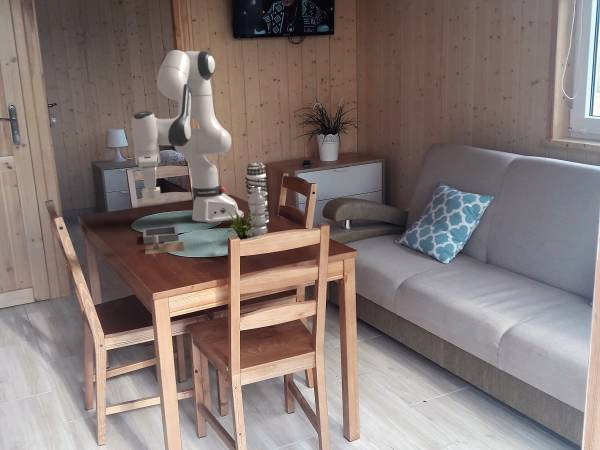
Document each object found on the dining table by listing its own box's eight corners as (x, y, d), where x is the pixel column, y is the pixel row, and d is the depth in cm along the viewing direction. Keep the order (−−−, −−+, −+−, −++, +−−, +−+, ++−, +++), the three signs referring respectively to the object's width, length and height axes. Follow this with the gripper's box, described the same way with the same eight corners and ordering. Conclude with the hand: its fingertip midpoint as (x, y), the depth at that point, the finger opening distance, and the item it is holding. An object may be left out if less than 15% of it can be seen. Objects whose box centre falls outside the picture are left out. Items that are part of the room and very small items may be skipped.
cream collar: (160, 197, 247) (159, 186, 246) (161, 201, 241) (160, 190, 240) (143, 199, 245) (141, 188, 244) (143, 202, 239) (141, 191, 238)
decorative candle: (267, 224, 278) (263, 164, 271) (245, 224, 279) (241, 165, 273) (272, 219, 286) (268, 161, 280) (251, 218, 288) (247, 161, 282)
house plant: (211, 256, 237) (208, 212, 233) (235, 246, 249) (232, 203, 245) (244, 261, 230) (241, 215, 226) (267, 250, 241) (264, 206, 237)
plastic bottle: (261, 241, 254) (258, 189, 249) (247, 239, 258) (243, 188, 253) (271, 236, 259) (268, 186, 254) (256, 234, 263) (253, 184, 258)
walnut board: (183, 244, 255) (181, 229, 253) (184, 253, 243) (183, 237, 242) (145, 248, 252) (143, 232, 250) (145, 257, 240) (143, 241, 239)
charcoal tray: (177, 234, 269) (176, 225, 268) (178, 242, 257) (178, 234, 256) (144, 237, 266) (143, 229, 265) (144, 246, 254) (143, 237, 253)
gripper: (138, 154, 248) (142, 190, 252) (138, 163, 229) (142, 202, 232) (156, 153, 249) (159, 189, 253) (157, 161, 230) (161, 200, 234)
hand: (151, 195), depth 243 cm, fingers closed on cream collar, 6 cm apart
